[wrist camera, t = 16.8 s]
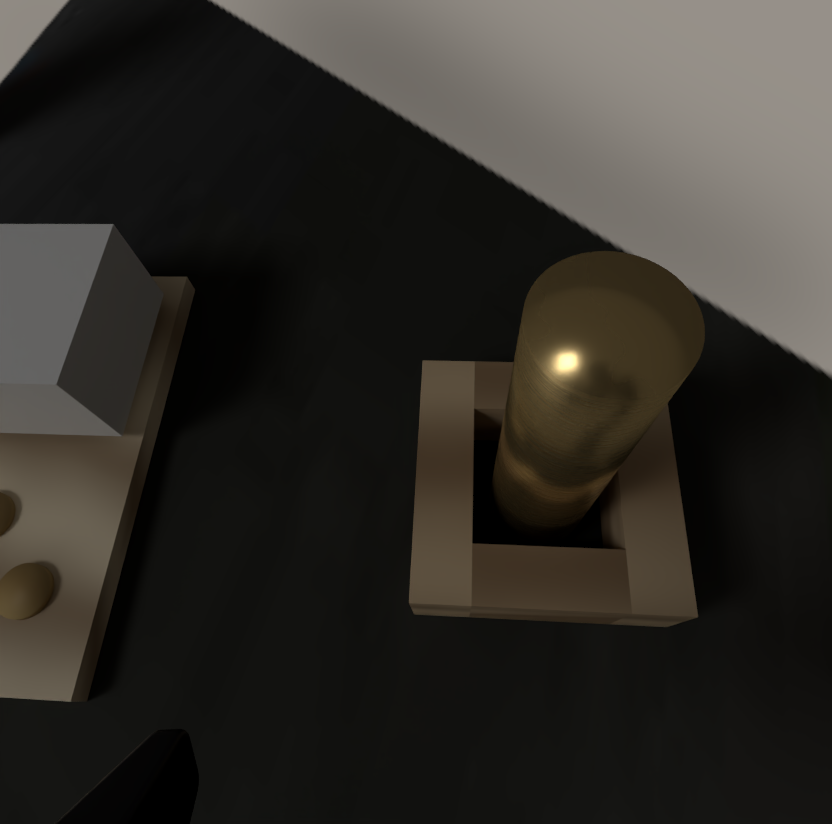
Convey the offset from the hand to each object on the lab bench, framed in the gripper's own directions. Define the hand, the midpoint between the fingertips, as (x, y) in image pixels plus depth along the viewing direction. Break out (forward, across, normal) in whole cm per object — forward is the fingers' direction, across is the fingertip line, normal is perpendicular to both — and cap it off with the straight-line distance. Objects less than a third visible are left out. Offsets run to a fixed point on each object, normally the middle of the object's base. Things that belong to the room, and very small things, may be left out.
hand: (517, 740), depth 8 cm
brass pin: (+15, -3, +4) cm, 16 cm away
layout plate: (+17, +17, +2) cm, 24 cm away
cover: (+18, +17, -2) cm, 25 cm away
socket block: (+15, -3, +4) cm, 16 cm away
